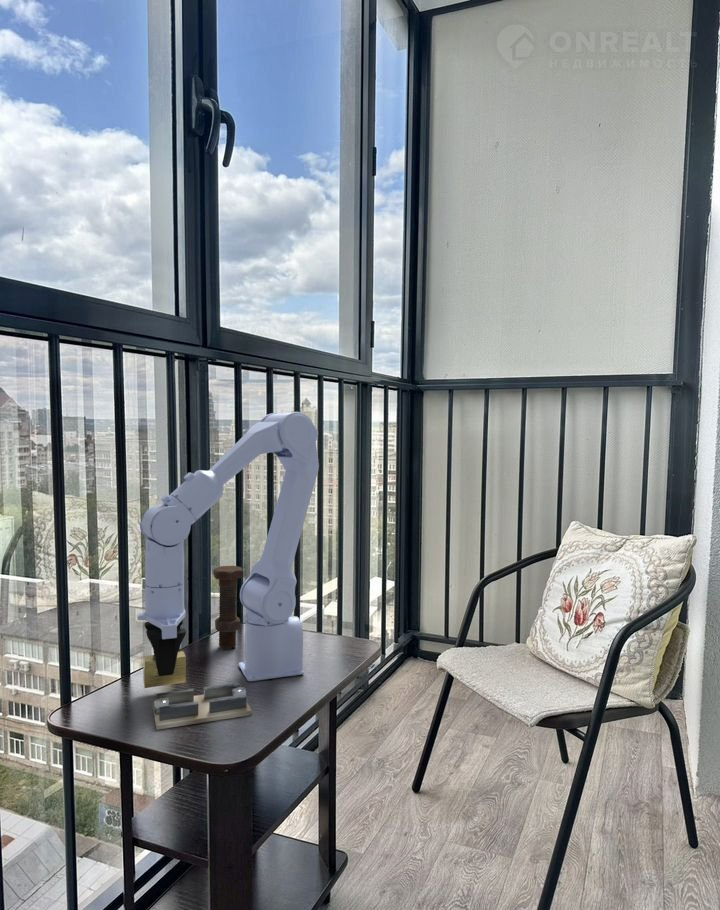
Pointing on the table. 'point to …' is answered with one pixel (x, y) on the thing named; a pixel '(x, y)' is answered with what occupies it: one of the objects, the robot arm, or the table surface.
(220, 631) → the bolt
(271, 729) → the table surface
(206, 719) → the plywood plate
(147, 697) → the table surface
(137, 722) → the table surface
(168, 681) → the khaki rectangular block
